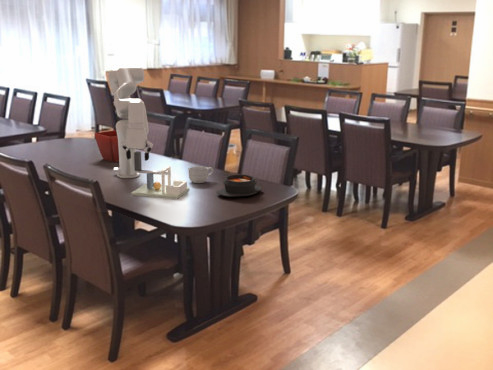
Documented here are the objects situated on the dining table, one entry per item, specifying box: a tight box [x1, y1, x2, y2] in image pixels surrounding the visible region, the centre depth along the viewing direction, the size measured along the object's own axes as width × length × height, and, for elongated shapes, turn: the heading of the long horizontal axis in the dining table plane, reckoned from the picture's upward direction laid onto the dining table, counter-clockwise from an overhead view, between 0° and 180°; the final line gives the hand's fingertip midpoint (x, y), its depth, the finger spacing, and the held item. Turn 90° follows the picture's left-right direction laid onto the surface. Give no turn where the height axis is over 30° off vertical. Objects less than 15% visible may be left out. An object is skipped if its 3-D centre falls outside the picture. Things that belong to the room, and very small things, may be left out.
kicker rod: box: [134, 150, 170, 189], centre depth 286 cm, size 18×5×18 cm, turn 76°
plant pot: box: [94, 129, 119, 163], centre depth 355 cm, size 19×19×17 cm
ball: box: [153, 181, 162, 190], centre depth 288 cm, size 4×4×4 cm
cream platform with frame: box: [131, 166, 190, 200], centre depth 286 cm, size 24×18×13 cm
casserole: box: [216, 174, 263, 198], centre depth 286 cm, size 25×19×8 cm
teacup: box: [187, 165, 214, 184], centre depth 307 cm, size 14×11×8 cm
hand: (137, 159), depth 287 cm, fingers open, 9 cm apart
